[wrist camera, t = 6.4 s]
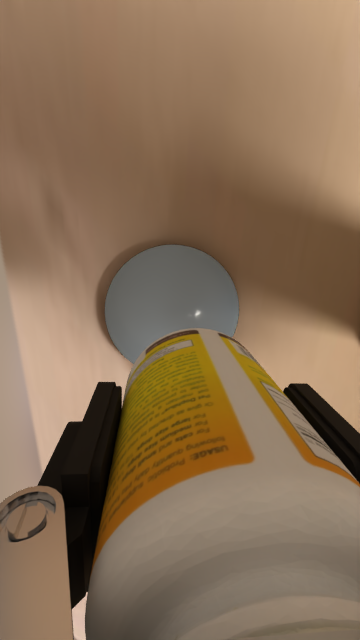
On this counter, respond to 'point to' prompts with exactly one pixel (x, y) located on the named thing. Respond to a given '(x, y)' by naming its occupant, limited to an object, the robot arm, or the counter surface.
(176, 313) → the dish
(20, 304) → the counter surface
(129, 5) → the counter surface
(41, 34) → the counter surface
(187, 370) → the supplement bottle
